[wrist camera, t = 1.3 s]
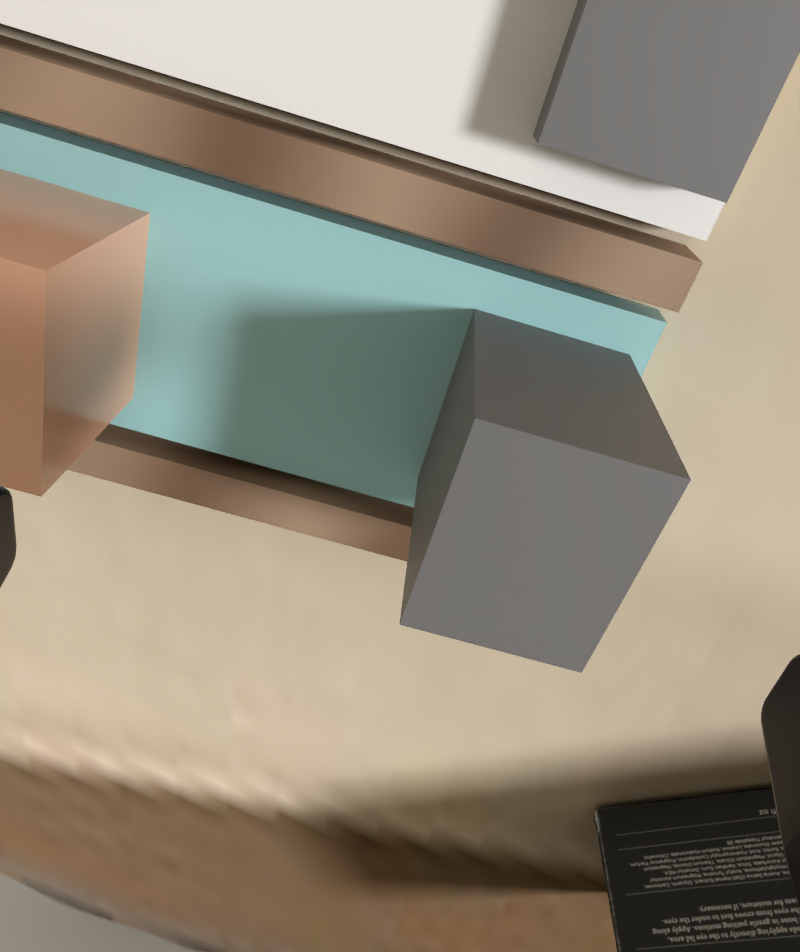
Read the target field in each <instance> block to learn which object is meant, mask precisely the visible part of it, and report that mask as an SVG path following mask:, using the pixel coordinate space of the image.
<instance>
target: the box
mask: <svg viewBox="0 0 800 952" xmlns="http://www.w3.org/2000/svg"><path fill="white" fill-rule="evenodd" d="M594 822H595V826H596V831H597V834H598V839H599V846H600V851H601V857H602V864H603V868H604V875H605V881H606V888H607V893H608V898H609V905H610V912H611V917H612V922H613V928H614V934H615V939H616V947H617V952H800V909H799V906H798V902H797V898H796V895H795V891H794V888H793V884H792V880H791V877H790V873H789V869H788V865H787V861H786V857H785V853H784V849H783V844H782V839H781V834H780V830H779V824H778V818H777V812H776V806H775V800H774V794H773V789H772V788H771V789H763V790H755V791H748V792H739V793H730V794H722V795H714V796H707V797H699V798H690V799H681V800H672V801H664V802H657V803H644V804H634V805H625V806H614V807H603V808H599V809H597V810H596V811H595V814H594Z"/></svg>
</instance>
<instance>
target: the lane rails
mask: <svg viewBox="0 0 800 952" xmlns="http://www.w3.org/2000/svg"><path fill="white" fill-rule="evenodd" d="M0 109H3V110H7V111H10V112H13V113H17V114H20V115H23V116H27V117H30V118H33V119H37V120H40V121H43V122H47V123H50V124H53V125H57V126H60V127H63V128H67V129H70V130H73V131H77V132H80V133H83V134H87V135H90V136H93V137H97V138H100V139H103V140H107V141H110V142H113V143H117V144H120V145H123V146H126V147H130V148H133V149H136V150H140V151H143V152H146V153H150V154H153V155H156V156H160V157H163V158H166V159H170V160H173V161H176V162H180V163H183V164H186V165H190V166H193V167H196V168H200V169H203V170H206V171H210V172H213V173H216V174H220V175H223V176H226V177H230V178H233V179H236V180H239V181H243V182H246V183H249V184H253V185H256V186H259V187H263V188H266V189H269V190H273V191H276V192H279V193H283V194H286V195H289V196H293V197H296V198H299V199H303V200H306V201H309V202H313V203H316V204H319V205H323V206H326V207H329V208H333V209H336V210H339V211H343V212H346V213H349V214H353V215H356V216H359V217H362V218H366V219H369V220H372V221H376V222H379V223H382V224H386V225H389V226H392V227H396V228H399V229H402V230H406V231H409V232H412V233H416V234H419V235H422V236H426V237H429V238H432V239H436V240H439V241H442V242H446V243H449V244H452V245H456V246H459V247H462V248H466V249H469V250H472V251H475V252H479V253H482V254H485V255H489V256H492V257H495V258H499V259H502V260H505V261H509V262H512V263H515V264H519V265H522V266H525V267H529V268H532V269H535V270H539V271H542V272H545V273H549V274H552V275H555V276H559V277H562V278H565V279H569V280H572V281H575V282H579V283H582V284H585V285H589V286H592V287H595V288H598V289H602V290H605V291H608V292H612V293H615V294H618V295H622V296H625V297H628V298H632V299H635V300H638V301H642V302H645V303H648V304H652V305H655V306H658V307H662V308H665V309H668V310H672V311H675V312H678V313H679V310H680V308H681V306H682V304H683V302H684V300H685V298H686V296H687V294H688V292H689V290H690V288H691V286H692V284H693V282H694V280H695V278H696V276H697V274H698V271H699V269H700V267H701V265H702V263H703V262H702V261H701V260H700V259H699V258H698V257H697V256H696V255H695V254H694V253H693V252H692V251H691V250H690V249H689V248H688V247H687V246H686V245H683V244H680V243H676V242H673V241H670V240H667V239H663V238H660V237H657V236H653V235H650V234H647V233H644V232H640V231H637V230H634V229H631V228H627V227H624V226H621V225H618V224H614V223H611V222H608V221H605V220H601V219H598V218H595V217H592V216H588V215H585V214H582V213H579V212H575V211H572V210H569V209H566V208H562V207H559V206H556V205H553V204H549V203H546V202H543V201H540V200H536V199H533V198H530V197H527V196H523V195H520V194H517V193H514V192H510V191H507V190H504V189H501V188H497V187H494V186H491V185H488V184H484V183H481V182H478V181H475V180H471V179H468V178H465V177H462V176H458V175H455V174H452V173H449V172H445V171H442V170H439V169H435V168H432V167H429V166H426V165H422V164H419V163H416V162H413V161H409V160H406V159H403V158H400V157H396V156H393V155H390V154H387V153H383V152H380V151H377V150H374V149H370V148H367V147H364V146H361V145H357V144H354V143H351V142H348V141H344V140H341V139H338V138H335V137H331V136H328V135H325V134H322V133H318V132H315V131H312V130H309V129H305V128H302V127H299V126H296V125H292V124H289V123H286V122H283V121H279V120H276V119H273V118H270V117H266V116H263V115H260V114H257V113H253V112H250V111H247V110H244V109H240V108H237V107H234V106H230V105H227V104H224V103H221V102H217V101H214V100H211V99H208V98H204V97H201V96H198V95H195V94H191V93H188V92H185V91H182V90H178V89H175V88H172V87H169V86H165V85H162V84H159V83H156V82H152V81H149V80H146V79H143V78H139V77H136V76H133V75H130V74H126V73H123V72H120V71H117V70H113V69H110V68H107V67H104V66H100V65H97V64H94V63H91V62H87V61H84V60H81V59H78V58H74V57H71V56H68V55H65V54H61V53H58V52H55V51H52V50H48V49H45V48H42V47H39V46H35V45H32V44H29V43H25V42H22V41H19V40H16V39H12V38H9V37H6V36H3V35H0ZM67 470H71V471H75V472H78V473H82V474H86V475H89V476H93V477H97V478H100V479H104V480H108V481H112V482H115V483H119V484H123V485H126V486H130V487H134V488H137V489H141V490H145V491H148V492H152V493H156V494H160V495H163V496H167V497H171V498H174V499H178V500H182V501H185V502H189V503H193V504H197V505H200V506H204V507H208V508H211V509H215V510H219V511H222V512H226V513H230V514H233V515H237V516H241V517H245V518H248V519H252V520H256V521H259V522H263V523H267V524H270V525H274V526H278V527H281V528H285V529H289V530H293V531H296V532H300V533H304V534H307V535H311V536H315V537H318V538H322V539H326V540H329V541H333V542H337V543H341V544H344V545H348V546H352V547H355V548H359V549H363V550H366V551H370V552H374V553H377V554H381V555H385V556H389V557H392V558H396V559H400V560H403V561H408V553H409V545H410V537H411V529H412V521H413V513H414V507H410V506H406V505H403V504H399V503H395V502H392V501H388V500H385V499H381V498H377V497H374V496H370V495H366V494H363V493H359V492H356V491H352V490H348V489H345V488H341V487H337V486H334V485H330V484H327V483H323V482H319V481H316V480H312V479H308V478H305V477H301V476H298V475H294V474H290V473H287V472H283V471H279V470H276V469H272V468H269V467H265V466H261V465H258V464H254V463H250V462H247V461H243V460H240V459H236V458H232V457H229V456H225V455H221V454H218V453H214V452H211V451H207V450H203V449H200V448H196V447H192V446H189V445H185V444H182V443H178V442H174V441H171V440H167V439H163V438H160V437H156V436H153V435H149V434H145V433H142V432H138V431H134V430H131V429H127V428H124V427H120V426H116V425H113V424H108V426H107V427H106V428H105V429H104V430H103V431H102V432H101V433H100V434H99V435H98V436H97V437H96V438H95V440H94V441H93V442H92V443H91V444H90V445H89V446H88V447H87V448H86V449H85V450H84V451H83V452H82V454H81V455H80V456H79V457H78V458H77V459H76V460H75V461H74V462H73V463H72V464H71V465H70V466H69V467H68V469H67Z"/></svg>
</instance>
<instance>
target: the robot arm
mask: <svg viewBox="0 0 800 952" xmlns="http://www.w3.org/2000/svg"><path fill="white" fill-rule="evenodd" d="M15 555H16V535H15V524H14V512H13V501H12V497H11V494H10V492H9V491H8V490H7V489H6V488H4V487H2V486H0V587H1V585H2V584H3V582H4V580H5V578H6V577H7V575H8V573H9V571H10V569H11V567H12V565H13V562H14V559H15ZM761 723H762V730H763V736H764V741H765V747H766V753H767V759H768V765H769V771H770V777H771V783H772V789H773V794H774V800H775V806H776V812H777V818H778V824H779V830H780V834H781V839H782V844H783V849H784V853H785V857H786V861H787V865H788V869H789V873H790V877H791V880H792V884H793V888H794V891H795V895H796V898H797V902H798V906H799V909H800V654H799V655H797V656H795V657H794V658H793V659H792V660H791V661H790V662H789V664H788V665H787V667H786V668H785V670H784V672H783V673H782V675H781V676H780V678H779V679H778V681H777V682H776V684H775V685H774V687H773V689H772V690H771V692H770V693H769V695H768V696H767V698H766V700H765V702H764V704H763V707H762V713H761Z"/></svg>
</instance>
